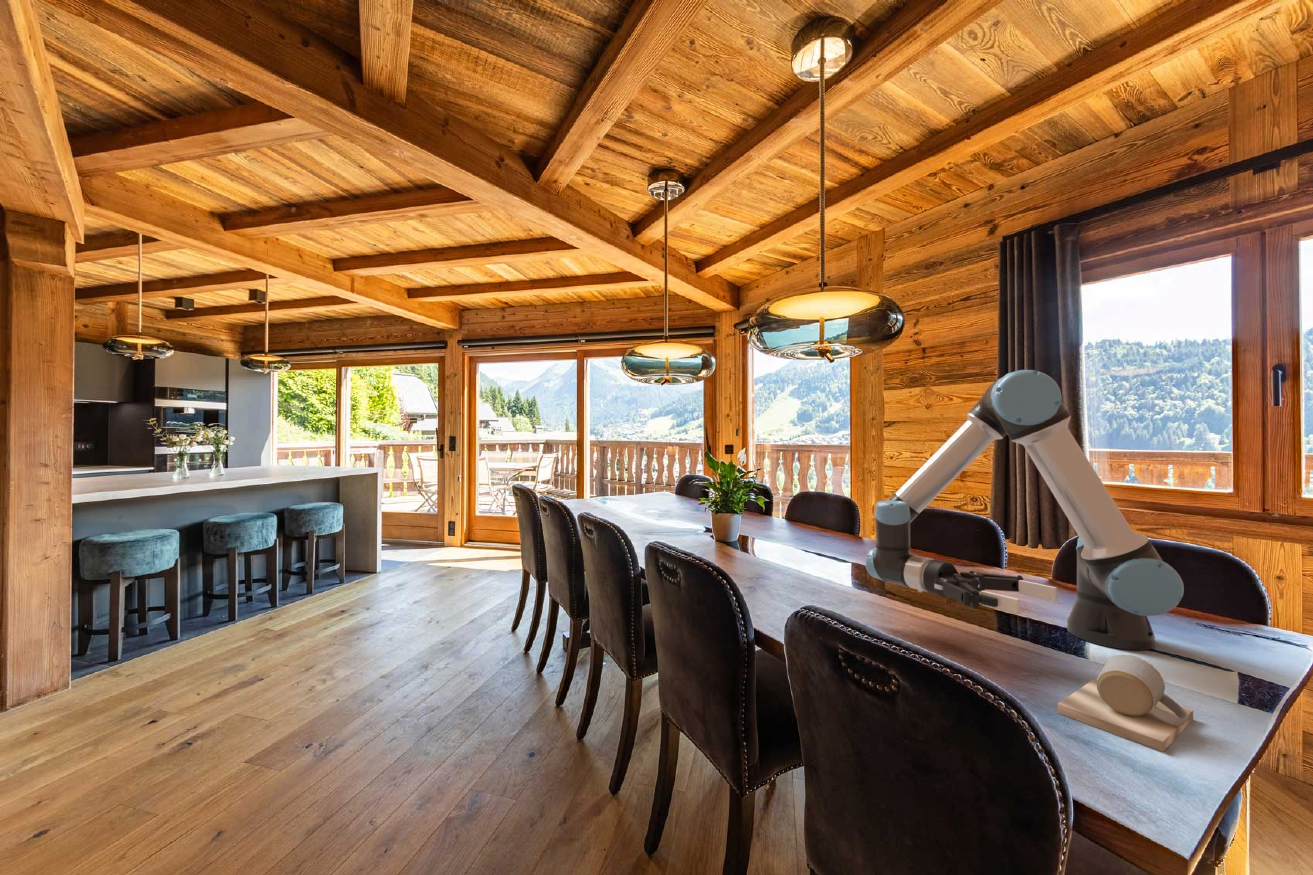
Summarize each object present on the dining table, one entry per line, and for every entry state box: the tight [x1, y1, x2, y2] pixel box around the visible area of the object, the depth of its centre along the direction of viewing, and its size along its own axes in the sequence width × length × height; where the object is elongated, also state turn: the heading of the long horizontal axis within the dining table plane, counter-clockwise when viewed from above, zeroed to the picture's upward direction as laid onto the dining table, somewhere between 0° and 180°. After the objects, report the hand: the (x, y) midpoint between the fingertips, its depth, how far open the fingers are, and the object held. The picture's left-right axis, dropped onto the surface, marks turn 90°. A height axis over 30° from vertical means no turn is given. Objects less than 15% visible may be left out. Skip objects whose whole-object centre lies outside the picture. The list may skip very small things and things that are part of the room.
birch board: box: [1057, 678, 1194, 753], centre depth 87 cm, size 16×13×2 cm
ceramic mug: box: [1096, 653, 1188, 726], centre depth 85 cm, size 11×8×8 cm
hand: (1038, 600), depth 99 cm, fingers open, 13 cm apart
